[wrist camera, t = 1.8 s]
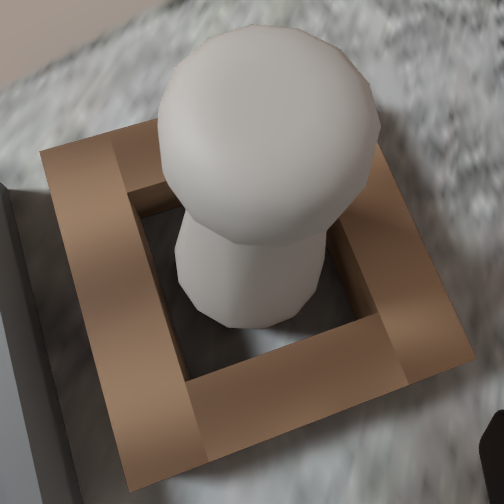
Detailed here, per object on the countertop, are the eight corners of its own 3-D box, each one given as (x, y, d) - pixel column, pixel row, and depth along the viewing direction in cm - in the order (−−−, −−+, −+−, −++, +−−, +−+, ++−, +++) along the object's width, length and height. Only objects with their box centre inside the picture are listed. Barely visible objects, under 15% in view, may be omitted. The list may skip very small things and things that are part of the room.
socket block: (440, 361, 20) (476, 358, 17) (145, 474, 18) (129, 493, 15) (328, 105, 23) (342, 65, 20) (65, 182, 21) (39, 151, 18)
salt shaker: (281, 190, 22) (354, -68, 9) (333, 304, 20) (501, 186, 8) (162, 234, 21) (61, 17, 8) (208, 356, 20) (171, 316, 7)
